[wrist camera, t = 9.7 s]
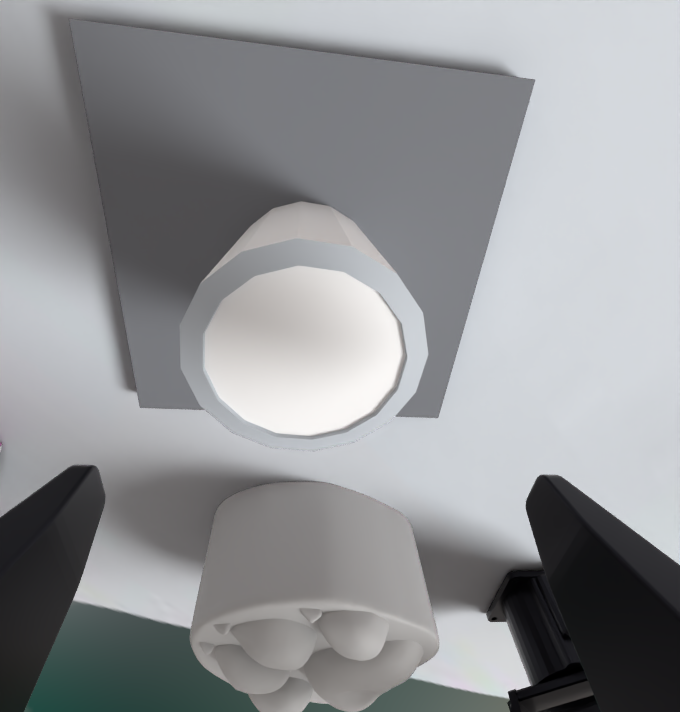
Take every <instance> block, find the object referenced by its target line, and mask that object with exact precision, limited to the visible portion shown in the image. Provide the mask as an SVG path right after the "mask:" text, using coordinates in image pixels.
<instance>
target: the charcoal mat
mask: <svg viewBox="0 0 680 712" xmlns="http://www.w3.org/2000/svg"><path fill="white" fill-rule="evenodd" d="M69 22H70V28H71V33H72V39H73V44H74V50H75V55H76V60H77V66H78V71H79V77H80V82H81V88H82V93H83V99H84V104H85V110H86V115H87V121H88V126H89V132H90V137H91V143H92V148H93V154H94V159H95V165H96V170H97V175H98V181H99V186H100V192H101V197H102V203H103V208H104V214H105V219H106V225H107V230H108V236H109V241H110V247H111V252H112V258H113V263H114V269H115V274H116V280H117V285H118V290H119V296H120V301H121V307H122V312H123V318H124V323H125V329H126V334H127V340H128V345H129V351H130V356H131V362H132V367H133V373H134V378H135V384H136V389H137V395H138V400H139V406H140V408H163V409H192V410H205V409H203V408H202V407H201V406H200V405H199V403H198V401H197V399H196V397H195V395H194V393H193V391H192V389H191V387H190V386H189V384H188V382H187V380H186V378H185V376H184V374H183V372H182V370H181V363H180V323H181V321H182V319H183V317H184V315H185V313H186V311H187V309H188V307H189V305H190V303H191V301H192V299H193V297H194V295H195V293H196V291H197V289H198V287H199V285H200V283H201V282H202V281H203V280H204V279H205V277H206V276H207V275H208V274H209V273H210V272H211V271H212V269H213V268H214V267H215V266H216V265H217V264H218V263H219V261H220V260H221V259H222V258H223V257H224V256H225V255H226V253H227V252H228V251H229V250H230V249H231V248H232V247H233V245H234V244H235V243H236V242H237V241H238V240H239V239H240V237H241V236H242V235H243V234H244V233H245V232H246V231H247V229H248V228H249V227H250V226H251V225H252V224H253V223H255V222H256V221H257V220H259V219H260V218H261V217H262V216H264V215H265V214H266V213H268V212H269V211H270V210H271V209H273V208H276V207H280V206H284V205H288V204H292V203H296V202H300V201H302V202H309V203H315V204H321V205H327V206H330V207H332V208H334V209H335V210H337V211H338V212H340V213H341V214H343V215H344V216H346V217H348V218H349V219H351V220H352V221H354V223H355V224H356V225H357V226H358V227H359V229H360V230H361V231H362V232H363V233H364V235H365V236H366V237H367V238H368V239H369V241H370V242H371V243H372V244H373V245H374V247H375V248H376V249H377V250H378V251H379V253H380V254H381V255H382V256H383V257H384V259H385V260H386V261H387V262H388V263H389V265H390V266H391V267H392V268H393V269H394V271H395V272H396V273H397V274H398V276H399V277H400V279H401V280H402V282H403V283H404V285H405V286H406V288H407V289H408V291H409V292H410V294H411V295H412V297H413V298H414V300H415V301H416V303H417V304H418V306H419V307H420V309H421V310H422V312H423V316H424V324H425V331H426V339H427V347H428V357H427V360H426V363H425V366H424V369H423V372H422V375H421V378H420V381H419V384H418V387H417V390H416V393H415V394H414V395H413V396H412V397H411V399H410V400H409V401H408V402H407V403H406V404H405V405H404V407H403V408H402V409H401V410H400V411H399V412H398V413H397V415H396V417H425V418H438V417H439V413H440V410H441V406H442V403H443V399H444V396H445V392H446V389H447V385H448V382H449V378H450V375H451V371H452V368H453V364H454V361H455V357H456V354H457V350H458V347H459V344H460V340H461V337H462V333H463V330H464V326H465V323H466V319H467V316H468V312H469V309H470V305H471V302H472V298H473V295H474V291H475V288H476V284H477V281H478V277H479V274H480V270H481V267H482V263H483V260H484V256H485V253H486V250H487V246H488V243H489V239H490V236H491V232H492V229H493V225H494V222H495V218H496V215H497V211H498V208H499V204H500V201H501V197H502V194H503V190H504V187H505V183H506V180H507V176H508V173H509V169H510V166H511V163H512V159H513V156H514V152H515V149H516V145H517V142H518V138H519V135H520V131H521V128H522V124H523V121H524V117H525V114H526V110H527V107H528V103H529V100H530V96H531V93H532V89H533V86H534V82H535V79H527V78H519V77H512V76H504V75H496V74H489V73H481V72H474V71H466V70H458V69H451V68H443V67H435V66H428V65H420V64H413V63H405V62H397V61H390V60H382V59H374V58H367V57H359V56H352V55H344V54H336V53H329V52H321V51H313V50H306V49H298V48H290V47H283V46H275V45H268V44H260V43H252V42H245V41H237V40H229V39H222V38H214V37H207V36H199V35H191V34H184V33H176V32H168V31H161V30H153V29H145V28H138V27H130V26H123V25H115V24H107V23H100V22H92V21H84V20H77V19H69Z"/></svg>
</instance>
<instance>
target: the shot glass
mask: <svg viewBox="0 0 680 712" xmlns="http://www.w3.org/2000/svg"><path fill="white" fill-rule="evenodd" d="M427 357H428V347H427V339H426V331H425V324H424V316H423V312H422V310H421V309H420V307H419V306H418V304H417V303H416V301H415V300H414V298H413V297H412V295H411V294H410V292H409V291H408V289H407V288H406V286H405V285H404V283H403V282H402V280H401V279H400V277H399V276H398V274H397V273H396V272H395V271H394V269H393V268H392V267H391V266H390V265H389V263H388V262H387V261H386V260H385V259H384V257H383V256H382V255H381V254H380V253H379V251H378V250H377V249H376V248H375V247H374V245H373V244H372V243H371V242H370V241H369V239H368V238H367V237H366V236H365V235H364V233H363V232H362V231H361V230H360V229H359V227H358V226H357V225H356V224H355V223H354V221H352V220H351V219H349V218H348V217H346V216H344V215H343V214H341V213H340V212H338V211H337V210H335V209H334V208H332V207H330V206H327V205H321V204H315V203H309V202H302V201H300V202H296V203H292V204H288V205H284V206H280V207H276V208H273V209H271V210H270V211H269V212H268V213H266V214H265V215H264V216H262V217H261V218H260V219H259V220H257V221H256V222H255V223H253V224H252V225H251V226H250V227H249V228H248V229H247V231H246V232H245V233H244V234H243V235H242V236H241V237H240V239H239V240H238V241H237V242H236V243H235V244H234V245H233V247H232V248H231V249H230V250H229V251H228V252H227V253H226V255H225V256H224V257H223V258H222V259H221V260H220V261H219V263H218V264H217V265H216V266H215V267H214V268H213V269H212V271H211V272H210V273H209V274H208V275H207V276H206V277H205V279H204V280H203V281H202V282H201V283H200V285H199V287H198V289H197V291H196V293H195V295H194V297H193V299H192V301H191V303H190V305H189V307H188V309H187V311H186V313H185V315H184V317H183V319H182V321H181V323H180V363H181V370H182V372H183V374H184V376H185V378H186V380H187V382H188V384H189V386H190V387H191V389H192V391H193V393H194V395H195V397H196V399H197V401H198V403H199V405H200V406H201V407H202V408H203V409H205V410H206V411H207V412H208V413H209V414H210V415H212V416H213V417H214V418H215V419H216V420H217V421H219V422H220V423H221V424H222V425H223V426H224V427H226V428H227V429H228V430H229V431H230V432H232V433H234V434H236V435H239V436H242V437H244V438H247V439H249V440H252V441H254V442H257V443H259V444H262V445H264V446H267V447H270V448H276V449H289V450H302V451H317V450H322V449H327V448H331V447H336V446H341V445H345V444H350V443H354V442H356V441H358V440H360V439H361V438H363V437H365V436H367V435H368V434H370V433H372V432H374V431H375V430H377V429H379V428H381V427H383V426H384V425H386V424H388V423H390V422H391V420H392V419H393V418H394V417H395V416H396V415H397V413H398V412H399V411H400V410H401V409H402V408H403V407H404V405H405V404H406V403H407V402H408V401H409V400H410V399H411V397H412V396H413V395H414V394H415V393H416V390H417V387H418V384H419V381H420V378H421V375H422V372H423V369H424V366H425V363H426V360H427Z"/></svg>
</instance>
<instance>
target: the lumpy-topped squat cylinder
mask: <svg viewBox="0 0 680 712" xmlns="http://www.w3.org/2000/svg"><path fill="white" fill-rule="evenodd" d="M190 643H191V646H192V649H193V652H194V654H195V655H196V657H197V659H198V660H199V662H200V663H201V664H202V665H203V666H204V667H205V668H206V669H207V670H209V671H210V672H211V673H213V674H214V675H216V676H217V677H219V678H221V679H222V680H224V681H226V682H228V683H230V684H231V685H232V686H233V687H234V688H235V689H236V690H240V691H242V692H245V693H248V695H249V697H250V699H251V701H252V702H253V704H254V705H255V706H256V707H257V709H258V710H259V711H260V712H302V711H303V709H304V708H305V707H306V706H307V704H308V702H314V703H324V704H330V705H331V706H333V707H335V708H337V709H340V710H343V711H347V712H357V711H361V710H363V709H365V708H367V707H368V706H370V705H371V704H372V703H373V702H374V701H375V699H376V698H377V697H378V696H380V695H381V694H382V693H385V692H386V691H388V690H390V689H392V688H393V687H395V686H397V685H399V684H401V683H403V682H405V681H406V680H407V679H408V678H409V677H410V676H411V675H412V674H413V673H414V671H415V670H416V668H417V667H418V666H420V665H422V664H424V663H425V662H427V661H428V660H430V659H431V658H433V657H434V656H435V655H436V653H437V652H438V649H439V636H438V632H437V627H436V623H435V619H434V615H433V611H432V607H431V603H430V599H429V595H428V591H427V587H426V583H425V579H424V574H423V570H422V566H421V562H420V558H419V554H418V550H417V546H416V542H415V538H414V534H413V530H412V526H411V523H410V522H409V520H408V519H407V518H406V517H405V516H404V515H403V514H402V513H400V512H399V511H397V510H396V509H394V508H392V507H390V506H388V505H386V504H384V503H382V502H380V501H378V500H375V499H373V498H371V497H369V496H366V495H364V494H361V493H358V492H356V491H353V490H350V489H347V488H344V487H341V486H337V485H334V484H330V483H325V482H310V481H302V482H278V483H269V484H264V485H260V486H256V487H252V488H249V489H246V490H243V491H240V492H238V493H236V494H234V495H232V496H230V497H228V498H227V499H225V500H224V501H223V502H222V503H221V504H220V505H219V507H218V508H217V510H216V512H215V516H214V521H213V525H212V530H211V535H210V539H209V544H208V549H207V554H206V558H205V563H204V568H203V573H202V578H201V582H200V587H199V592H198V596H197V601H196V606H195V611H194V616H193V621H192V626H191V632H190Z"/></svg>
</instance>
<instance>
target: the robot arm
mask: <svg viewBox="0 0 680 712" xmlns="http://www.w3.org/2000/svg"><path fill="white" fill-rule="evenodd" d="M104 504H105V492H104V488H103V484H102V481H101V477H100V473H99V470H98V468H97V467H96V466H94V465H73V466H71V467H69V468H67V469H66V470H65V471H63V472H62V473H60V474H59V475H58V476H56V477H55V478H54V479H52V480H51V481H50V482H48V483H47V484H45V485H44V486H43V487H41V488H40V489H39V490H37V491H36V492H34V493H33V494H32V495H30V496H29V497H28V498H26V499H25V500H24V501H22V502H21V503H19V504H18V505H17V506H15V507H14V508H13V509H11V510H10V511H8V512H7V513H6V514H4V515H3V516H2V517H0V712H24V710H25V708H26V706H27V703H28V701H29V699H30V696H31V694H32V692H33V690H34V687H35V685H36V683H37V680H38V678H39V676H40V674H41V671H42V669H43V666H44V664H45V662H46V660H47V658H48V655H49V653H50V651H51V648H52V646H53V644H54V642H55V639H56V637H57V635H58V632H59V630H60V628H61V626H62V623H63V621H64V618H65V616H66V614H67V612H68V609H69V607H70V605H71V603H72V600H73V598H74V596H75V593H76V591H77V588H78V586H79V583H80V580H81V577H82V574H83V571H84V568H85V565H86V562H87V559H88V556H89V552H90V549H91V546H92V543H93V540H94V537H95V533H96V530H97V527H98V524H99V521H100V518H101V514H102V511H103V508H104ZM526 511H527V515H528V518H529V522H530V525H531V528H532V532H533V535H534V538H535V542H536V545H537V548H538V552H539V555H540V558H541V562H542V565H543V568H544V571H514V572H510V573H509V574H508V575H507V576H506V578H505V580H504V582H503V584H502V586H501V588H500V589H499V591H498V593H497V595H496V597H495V599H494V601H493V603H492V605H491V606H490V608H489V610H488V612H487V618H488V621H490V622H507V624H508V627H509V629H510V632H511V634H512V637H513V640H514V642H515V645H516V648H517V650H518V653H519V655H520V658H521V661H522V663H523V666H524V669H525V671H526V674H527V676H528V679H529V682H530V684H531V686H529V687H526V688H523V689H520V690H517V691H516V690H515V689H514V690H511V691H508V694H509V698H510V701H509V702H508V706H509V709H510V712H680V565H679V564H678V563H676V562H675V561H674V560H672V559H671V558H670V557H668V556H667V555H665V554H664V553H663V552H661V551H660V550H659V549H657V548H656V547H655V546H653V545H652V544H651V543H649V542H648V541H647V540H645V539H644V538H643V537H641V536H640V535H639V534H637V533H636V532H635V531H633V530H632V529H631V528H629V527H628V526H627V525H625V524H624V523H623V522H621V521H620V520H619V519H617V518H616V517H615V516H613V515H612V514H611V513H609V512H608V511H607V510H605V509H604V508H603V507H601V506H600V505H599V504H597V503H596V502H595V501H593V500H592V499H591V498H589V497H588V496H587V495H585V494H584V493H583V492H581V491H580V490H579V489H577V488H576V487H575V486H573V485H572V484H571V483H569V482H568V481H567V480H565V479H564V478H562V477H561V476H558V475H540V476H539V477H537V479H536V481H535V483H534V485H533V487H532V489H531V491H530V493H529V495H528V497H527V500H526Z"/></svg>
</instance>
